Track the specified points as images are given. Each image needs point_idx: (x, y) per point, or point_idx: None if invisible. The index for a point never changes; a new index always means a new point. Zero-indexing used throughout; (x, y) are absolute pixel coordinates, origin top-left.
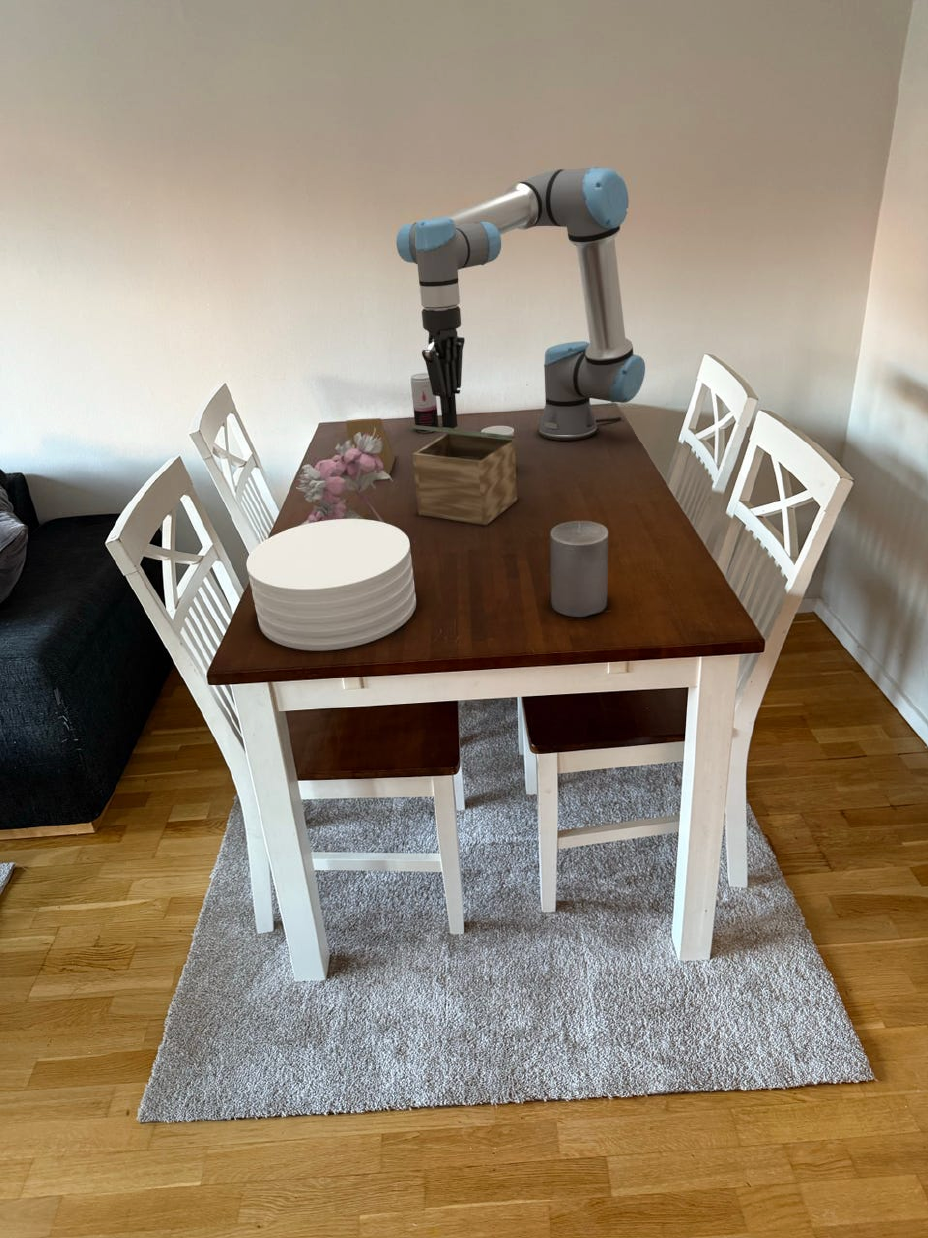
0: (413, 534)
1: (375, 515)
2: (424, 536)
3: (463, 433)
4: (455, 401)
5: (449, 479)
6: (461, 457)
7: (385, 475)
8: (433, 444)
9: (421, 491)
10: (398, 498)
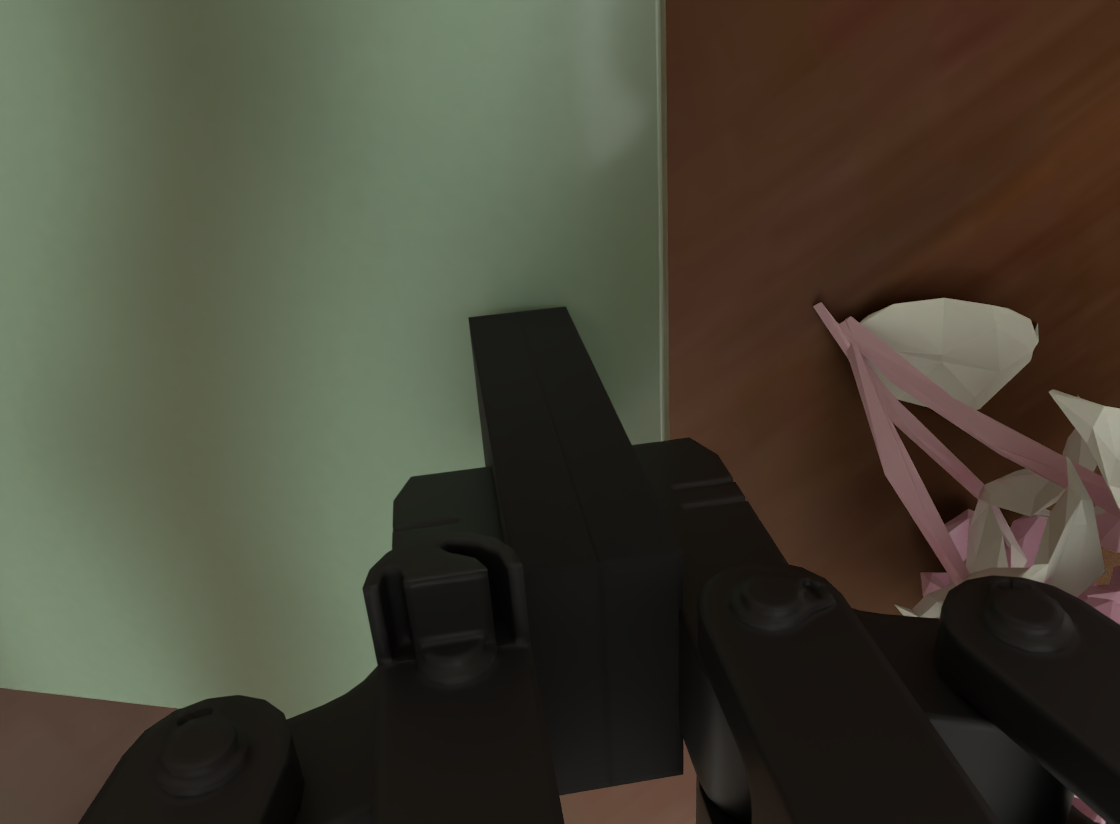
0: (773, 231)
1: (951, 402)
2: (778, 159)
3: (665, 73)
4: (509, 489)
5: None
6: None
7: (1103, 445)
8: None
9: None
10: None
